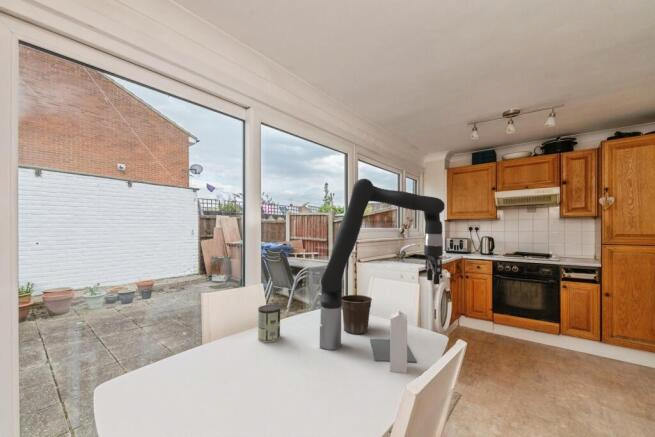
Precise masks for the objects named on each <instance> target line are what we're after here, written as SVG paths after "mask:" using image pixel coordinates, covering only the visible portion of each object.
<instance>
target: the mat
mask: <svg viewBox="0 0 655 437" xmlns="http://www.w3.org/2000/svg"><path fill="white" fill-rule="evenodd" d="M369 342H370V347H371V349H372V355H373V357H374V361H375V362H388V363H390V338H389V339H387V338H386V339H385V338H383V339H382V338H370V339H369ZM417 361H418V360H416V358H415V356H414V354H413V352H412V350H411V349H410V347H409V345H408V344H407V364H408V363H413V364H416V363H417ZM417 364H418V363H417Z"/></svg>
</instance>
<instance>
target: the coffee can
mask: <svg viewBox="0 0 655 437" xmlns="http://www.w3.org/2000/svg"><path fill="white" fill-rule="evenodd" d="M257 312H258V314H257V315H258V319H257V323H258V324H257V326H258V327H257V328H258V329H257V340H258V341H259V342H263V343H272V342H276V341H279V340H280V339H281V306H280V305H277V304H265V305H261V306H258V308H257Z"/></svg>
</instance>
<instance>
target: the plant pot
mask: <svg viewBox="0 0 655 437" xmlns="http://www.w3.org/2000/svg"><path fill="white" fill-rule="evenodd" d="M372 301H373V298H372V297H370V296H366V295H363V294H362V295H361V294H347V295H342V305H341V311H342V319H343V320H342V321H343V331H344V332H346V333H348V334H352V335H361V334H366V333H368V331H369V322H370V321H369V320H370V311H371V307H372Z"/></svg>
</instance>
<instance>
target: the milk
mask: <svg viewBox="0 0 655 437" xmlns="http://www.w3.org/2000/svg"><path fill="white" fill-rule="evenodd" d="M389 320H390V326H389V328H390V330H389V331H390V333H389V334H390V338H389V339H390V362H389V371H390V372H393V373H394V372H395V373H401V374H407V373H408V362H407V345H408V316H407V314H405V313H403V312H402V311H401V310H397V311H395V312H393V313H391V314H390V319H389Z"/></svg>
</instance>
